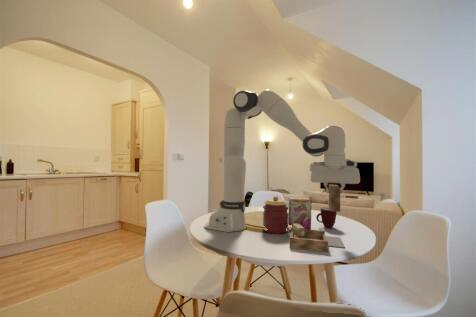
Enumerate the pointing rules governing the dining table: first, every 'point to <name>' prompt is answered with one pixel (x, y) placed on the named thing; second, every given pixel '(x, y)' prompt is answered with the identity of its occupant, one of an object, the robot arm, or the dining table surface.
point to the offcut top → (298, 229)
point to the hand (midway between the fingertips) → (334, 193)
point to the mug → (327, 217)
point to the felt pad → (335, 242)
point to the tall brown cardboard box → (334, 198)
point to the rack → (310, 240)
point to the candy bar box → (300, 212)
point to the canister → (275, 216)
